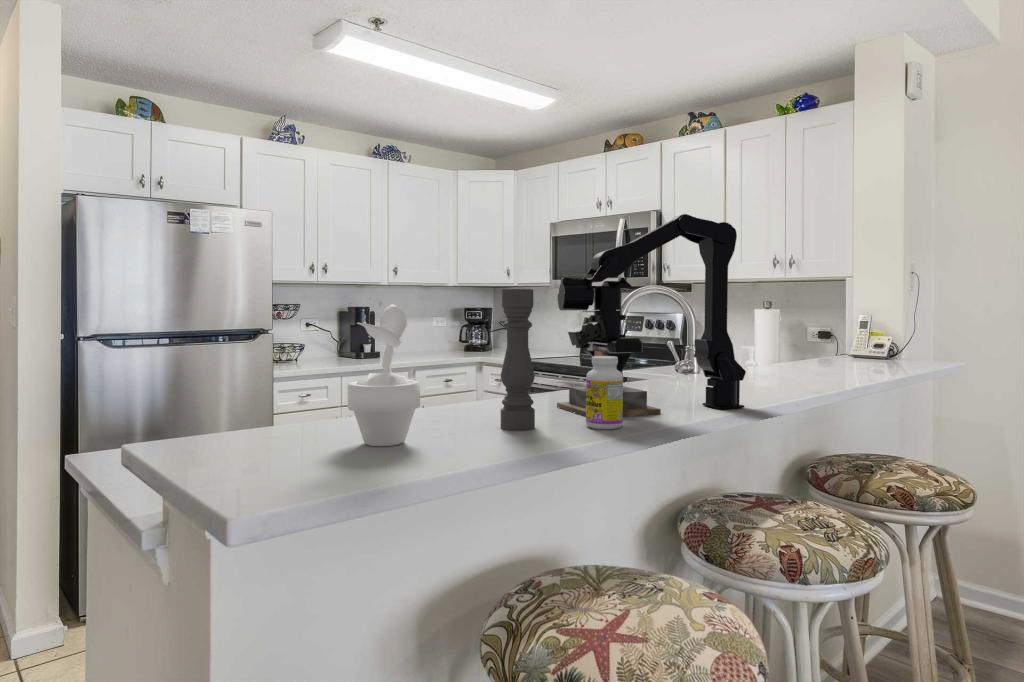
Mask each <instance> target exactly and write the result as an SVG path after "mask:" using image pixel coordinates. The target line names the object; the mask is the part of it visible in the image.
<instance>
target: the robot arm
mask: <svg viewBox="0 0 1024 682" xmlns="http://www.w3.org/2000/svg"><path fill="white" fill-rule="evenodd" d="M678 237H682V238H684V239H686V240H688V241H690V242H692V243H694V244H698V248H699V250H698V251H699V254H700V256H701V259H702V262H703V264H704V268H705V269H704V271H705V272H704V275H705V277H704V330H703V333H702V336H701V338H695V339H694V342H693V343H694V348H695V349H694V354H693V357H694V358H695V359H696V363H697V365H698V366H699V368H701V370H702V372H703V374H704V377H705V378H707V380H706V381H707V382H706V383H707V384H706V385H705V402H702V406H705V407H709V408H714V409H719V410H726V409H727V410H728V409H741V408H745V405H744V404H740V397H741V395H740V392H741V391H740V389H741V388H740V387H741V386H740V385H741V384H740V383H741V381H744V379H745V376H746V373H747V371H746V370H745V369H744V367H743V366H741V364H739V362H738V361H737V360H736V357H735V351H734V344H733V342H732V340H731V337H730V334H729V333H728V301H729V300H728V297H729V295H728V293H729V291H728V290H729V289H728V287H729V284H728V283H729V265H730V261H731V259H732V257H733V255H734V252H735V249H736V243H737V239H738V234H737V230H736V228H735V227H734V226H733V225H732V224H731V223H729V222H725V221H722V222H721V221H720V222H716V221H713V220H709V219H705V218H699V217H696V216H692V215H690V214H687V213H683V214H680V215H677V216H674V217H672V218H671V220H669V221H667V222H665V223H663V224H661V225H660V226H657V227H656V228H654V229H652V230H651V231H649V232H647V233H645V234H643V235H641V236H639V237H637V238H635V239H633V240H632V241H630V242H628V243H626V244H622V245H619V246H615V247H613V248H610V249H609V248H608V249H606V250H603V251H600V252H598V253H596V254H595V255H594V256H593V257H592V260H591V267H590V269H589V270H588V271H587V272H586V273H585V275H584V277H582V278H571V277H562V278H561V279H560V285H559V288H558V293H557V307H558V309H559V310H560V311H588V309H589V308H590V307H591V306H593V307H594V308H593V310H594V311H593V314H590V315H589V318H588V322H587V323H584V324H581V325H578V326H575V327H573V328H572V329H569V330H568V331H567V333H568V336H569V341H570V342H571V345H572V346H573V347H574V346H575V349H585V348H586V349H585V350H583V352H584V353H585V354H586V355H588V356H590V357H591V358H592V357H594V351H609V352H605V353H601V354H602V355H603V356H615V357H618V363H617V365H616V367H617V370H618V371H620V372H621V373H622V372H623V370H624V368H625V366H626V364H627V362H628V360H629V358H630V357H631V356H632V355H633V353H643V349H644V348H643V347H644V346H643V345H644V342H643V341H642V340H641V339H640V338H639V337H626V334H622V321H626V315H625V314H623V315H622V302H623V301H622V298H623V297H622V291H623V290H624V289H625V290H627V289H632V287H633V285H631V283H629V282H628V281H627V280H626V278H625V277H619V276H621V275H622V274H623V273H624V272H625V271H627V270H628V269H629V268H630V267H632V266H633V264H634V263H636V262H637V261H638V260H639V259H640V258H641V257H644V256H645V255H647V254H649V253H651V252H653V251H655V250H656V249H658V248H660V247H662V246H664V245H666V244H667V243H669V242H671V241H673V240H675V239H677V238H678ZM616 277H619V278H618V279H617V280H606V279H610V278H611V279H612V278H616ZM602 282H603V283H602ZM595 283H602V284H601V285H593V284H595Z"/></svg>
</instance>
